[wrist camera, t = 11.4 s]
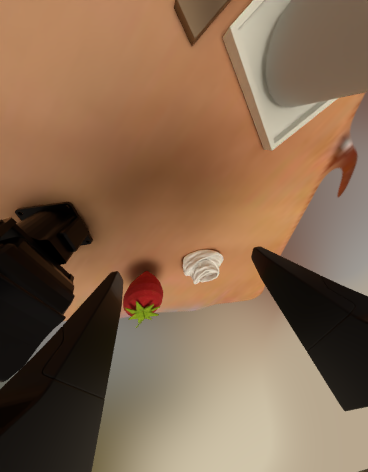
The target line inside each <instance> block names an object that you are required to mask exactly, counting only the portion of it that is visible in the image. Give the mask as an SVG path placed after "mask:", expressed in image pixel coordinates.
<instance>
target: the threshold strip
mask: <svg viewBox="0 0 368 472" xmlns="http://www.w3.org/2000/svg"><path fill="white" fill-rule="evenodd" d="M230 1H231V0H175V5H174V9H175V11H176V13H177V15H178V17H179V19H180V22H181V24H182V26H183V28H184V30H185V32H186V34H187V37H188V39H189V41H190V43H191V45H193V44H194V43H195V42H196V41H197V40H198V38H199V37H200V36H201V35H202V34H203V33H204V31H205V30H206V29H207V28H208V27H209V25H210V24H211V23H212V22H213V21H214V20H215V18H216V17H217V16H218V15H219V14H220V13H221V11H222V10H223V9H224V8H225V7H226V5H227V4H228V3H229V2H230Z"/></svg>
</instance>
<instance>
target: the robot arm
mask: <svg viewBox="0 0 368 472" xmlns="http://www.w3.org/2000/svg"><path fill="white" fill-rule="evenodd" d="M66 205H68V206H69V207H67V206H66ZM21 212H22V213H23V214H22V213H21ZM15 213H16V215H17V216H18V217H19V218H20V219H21V222H19V223H18V224H16V223H17V222H16V221H15V220H14V219H12V218H7V219H4V220H0V382H4V381H6V380H8V379H9V378H10V377H11V376H12V375H14V374H15V373H16V372H17V371H18V373H16V374H15V375H14V376H13V377H12V378H11V379H10V380H9V381H8V382H7V383H6V384H5V385H4V386H3V387H2V388H1V389H0V472H91V471H92V466H93V460H94V455H95V449H96V444H97V438H98V433H99V427H100V422H101V417H102V411H103V405H104V398H105V394H106V389H107V383H108V378H109V372H110V367H111V361H112V356H113V350H114V345H115V339H116V334H117V329H118V323H119V318H120V312H121V306H122V293H123V279H122V277H121V275H120V273H119V272H118V271H115V272H111V273H110V274H109V275H108V276H107V277H106V278H105V280H104V281H103V282H102V283H101V284H100V285H99V286H98V287H97V288H96V289H95V291H94V292H93V293H92V294H91V295H90V296H89V297H88V298H87V299H86V301H85V302H84V303H83V304H82V305H81V306H80V307H79V308H78V309H77V310H76V312H75V313H74V314H73V315H72V316H71V317H70V318H69V319H68V320H67V322H66V323H65V324H64V325H63V327H61V328H60V329H59V330H58V332H56V334H55V335H54V336H53V337H52V338H51V339H50V340H49V341H48V342H47V343H46V344H45V345H44V346H43V348H41V349H40V350H39V352H37V353H36V355H35V356H34V357H33V358H32V359H31V360H30V361H29V362H27V361H28V360H29V358H30V357H31V356H32V354H33V353H34V352H35V350H36V349H37V347H38V346H39V345H40V344H41V342H42V341H43V340H44V339H45V337H46V336H47V335H48V334H49V333H50V332H51V331H52V330H53V329H54V328H55V327H56V326H58V325H59V324H60V323H61V322H62V321H63V320H64V319H65V318H66V317H65V316H64V315H63V314H64V313H65V312H66V310H67V309H68V307H69V306H70V305H71V303H72V301H73V299H74V294H73V290H74V285H73V280H74V277H73V276H72V275H71V274H69V273H68V272H67V271H66V270H65V269H64V268H63V267H61V266H60V265H61V264H65V263H66V262H67V261H68V260H69V258H70V257H71V255H72V254H73V252H75V251H77V250H78V248H79V247H80V246H81V245H87V244H91V243H92V241H93V240H92V238H91V236H90V235H89V231H88V230H87V228H86V226H85V224H84V223H83V221H82V219H81V218H80V217H79V215H78V214H77V212H76V210H75V208H74V207H73V205H72V204H71V203H69V202H63V203H56V204H49V205H41V206H34V207H27V208H20V209H17V210H16V211H15ZM87 240H89V241H87ZM251 258H252V261H253V263H254V265H255V267H256V269H257V271H258V273H259V275H260V277H261V279H262V281H263V282H264V284H265V286H266V287H267V289H268V290H269V291H270V293H271V295H272V297H273V298H274V300H275V301H276V303H277V305H278V306H279V308H280V309H281V311H282V313H283V314H284V316H285V317H286V319H287V320H288V322H289V324H290V325H291V327H292V329H293V330H294V332H295V333H296V335H297V337H298V338H299V340H300V341H301V343H302V345H303V346H304V347H305V349H306V351H307V353H308V354H309V356H310V357H311V359H312V361H313V362H314V364H315V365H316V367H317V369H318V370H319V372H320V373H321V375H322V376H323V378H324V380H325V381H326V383H327V385H328V386H329V388H330V389H331V391H332V393H333V394H334V396H335V397H336V399H337V401H338V402H339V404H340V405H341V407H342V408H343V410H344V411H349V410H354V409H359V408H364V407H368V296H365V295H363V294H361V293H359V292H356V291H354V290H352V289H349V288H347V287H345V286H342V285H340V284H338V283H336V282H334V281H331V280H329V279H327V278H325V277H323V276H320V275H319V274H316V273H315V272H313V271H310V270H308V269H306V268H304V267H302V266H299V265H298V264H296V263H294V262H291V261H290V260H287V259H285V258H283V257H281V256H279V255H277V254H275V253H273V252H271V251H269V250H267V249H265V248H262V247H254V248H253V252H252V256H251ZM359 472H368V469H366V470H362V471H359Z"/></svg>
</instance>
